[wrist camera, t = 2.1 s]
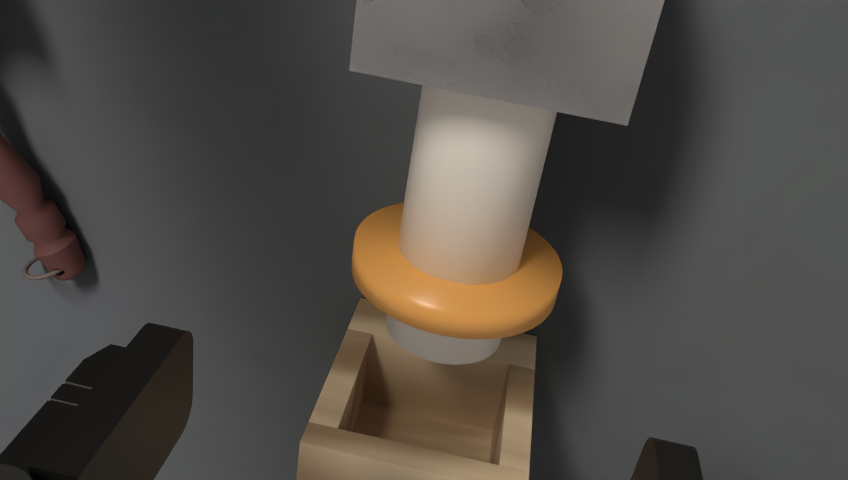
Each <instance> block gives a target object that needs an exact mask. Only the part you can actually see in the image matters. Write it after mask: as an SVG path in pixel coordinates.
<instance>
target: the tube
mask: <svg viewBox="0 0 848 480" xmlns="http://www.w3.org/2000/svg"><path fill="white" fill-rule="evenodd" d="M556 114H557V112H555V111H550V110H545V109H540V108H535V107H530V106H525V105H520V104H515V103H510V102H505V101H500V100H495V99H490V98H485V97H480V96H475V95H470V94H465V93H459V92H454V91H449V90H444V89H439V88H434V87H429V86H424V85H422V90H421V96H420V103H419V109H418V116H417V122H416V129H415V135H414V141H413V148H412V154H411V161H410V167H409V174H408V180H407V186H406V193H405V199H404V203H399V204H394V205H390V206H387V207H385V208H382V209H380V210H378V211H376V212H374V213H372V214H371V215H369V216H368V217H366V218H365V219H364V220H363V221H362V222H361V223H360V225H359V227H358V228H357V230H356V233H355V238H354V246H353V254H352V263H351V271H352V277H353V279H354V282H355V284H356V286H357V287H358V289H359V290H360V292H361V293H362V294H363V295H364V296H365V298H366V299H367V300H368V301H369V302H371V303H372V304H373V305H374V306H375V307H376V308H378V309H379V310H381V311H382V312H384V313H385V314H387V315H386V327H387V330H388V332H389V334H390V336H391V337H392V339H393V340H394V341H395V342H396V343H397V344H398V345H399V346H400V347H402V348H403V349H405V350H406V351H408V352H409V353H411V354H413V355H415V356H417V357H420V358H422V359H425V360H428V361H432V362H436V363H442V364H451V365H460V364H469V363H475V362H478V361H481V360H483V359H486V358H487V357H489V356H491V355H492V354H493V353H494V352H495V351H496V350H497V348H498V347H499V345H500V341H501V338H504V337H510V336H514V335H517V334H521V333H524V332H526V331H528V330H531V329H533V328H534V327H536V326H538V325H539V324H541V323H542V322H543V321H544V320H545V319H546V318H547V317H548V316H549V314H550V313H551V312H552V309H553V307H554V305H555V301H556V297H557V294H558V290H559V287H560V283H561V280H562V273H563V271H562V264H561V261H560V258H559V256H558V255H557V253H556V251H555V250H554V249H553V247H552V246H551V245H550V244H549V243H548V242H547V241H546V240H545V239H544V238H543V237H542V236H540V235H539V234H538V233H536V232H535V231H534V230H532V229H531V228H529V224H530V220H531V216H532V212H533V208H534V204H535V200H536V195H537V191H538V187H539V183H540V179H541V175H542V171H543V167H544V163H545V159H546V155H547V151H548V147H549V143H550V139H551V135H552V131H553V127H554V123H555V119H556Z"/></svg>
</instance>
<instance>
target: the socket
mask: <svg viewBox="0 0 848 480" xmlns="http://www.w3.org/2000/svg"><path fill="white" fill-rule="evenodd" d="M386 315H387V314H385V313H384V312H382V311H381V310H379V309H378V308H376V307H375V306H374V305H373V304H372V303H371V302H369V301H368V300H367V299H362V298H360V300H359V303H358V305H357V307H356V310H355V312H354V314H353V317H352V319H351V322H350V324H349V326H348V329H347V331H346V334H345V336H344V338H343V341H342V343H341V345H340V348H339V350H338V353H337V355H336V357H335V360H334V362H333V365H332V367H331V369H330V372H329V374H328V377H327V379H326V381H325V384H324V386H323V388H322V391H321V393H320V396H319V398H318V400H317V403H316V405H315V408H314V410H313V412H312V415H311V417H310V420H309V422H308V424H307V427H306V429H305V431H304V434H303V436H302V439H301V441H300V446H299V456H298V466H297V476H296V480H529V468H530V450H531V432H532V415H533V397H534V379H535V362H536V344H537V336H533V335H528V334H524V333H521V334H517V335H514V336H510V337H504V338H501V341H500V345H499V347H498V348H497V350H496V351H495V352H494V353H493V354H492V355H491V356H489V357H487V358H486V359H483V360H481V361H478V362H475V363H469V364H460V365H451V364H442V363H436V362H432V361H428V360H425V359H422V358H420V357H417V356H415V355H413V354H411V353H409V352H408V351H406V350H405V349H403V348H402V347H400V346H399V345H398V344H397V343H396V342H395V341H394V340H393V339H392V337H391V336H390V334H389V332H388V330H387V327H386Z"/></svg>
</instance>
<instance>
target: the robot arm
mask: <svg viewBox="0 0 848 480" xmlns="http://www.w3.org/2000/svg"><path fill="white" fill-rule="evenodd" d="M192 394H193V336H192V334H191V332H189V331H184V330H180V329H176V328H171V327H167V326H162V325H158V324H153V323H147V324H146V325H144V326H143V327H142V329H141V330H140V331H139V332H138V333H137V335H136V336H135V337H134V338H133V339H132V341H131V342H130V343H129V344H128V346H127V347H126V348H125V347H121V346H117V345H112V344H111V345H109V346H107V347H105V348H103V349H102V350H100V351H98V352H96V353H95V354H93V355H91V356H89V357H87V358H86V359H84V360H83V361H82V362H81V363H80V365H79V366H78V367H77V368H76V369H75V370H74V371H73V372H72V374H71V375H70V376H69V377H68V378H67V379H66V383H65V384H62V385H61V386H60V387H59V388H58V390H57V391H56V392H55V393H54V394H53V395H52V396H51V400H50V401H47V402H46V403H45V404H44V405H43V407H42V408H41V409H40V410H39V411H38V412H37V413H36V414H35V416H34V417H33V418H32V419H31V420H30V421H29V422H28V424H27V425H26V426H25V427H24V428H23V429H22V430H21V432H20V433H19V434H18V435H17V436H16V437H15V438H14V439H13V441H12V442H11V443H10V444H9V445H8V446H7V447H6V449H5V450H4V451H3V452H2V453H1V454H0V480H154V478H155V477H156V475H157V473H158V472H159V470H160V468H161V467H162V465H163V464H164V462H165V460H166V459H167V457H168V456H169V454H170V452H171V451H172V449H173V447H174V446H175V444H176V443H177V441H178V439H179V438H180V436H181V434H182V433H183V431H184V429H185V426H186V424H187V421H188V418H189V415H190V411H191V406H192ZM631 480H703V478H702V473H701V468H700V463H699V458H698V453H697V451H696V449H695V448H694V447H692V446H687V445H683V444H678V443H674V442H670V441H665V440H661V439H656V438H652V437H650V438H648V440H647V441H646V443H645V445H644V447H643V450H642V452H641V455H640V457H639V460H638V462H637V465H636V468H635V470H634V473H633V475H632V478H631Z"/></svg>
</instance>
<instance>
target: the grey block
mask: <svg viewBox="0 0 848 480" xmlns="http://www.w3.org/2000/svg"><path fill="white" fill-rule="evenodd" d="M664 1H665V0H357V2H356V11H355V21H354V30H353V39H352V48H351V58H350V67H349V71H354V72H359V73H364V74H369V75H374V76H379V77H384V78H389V79H394V80H399V81H404V82H409V83H414V84H419V85H424V86H429V87H434V88H439V89H444V90H449V91H454V92H459V93H465V94H470V95H475V96H480V97H485V98H490V99H495V100H500V101H505V102H510V103H515V104H520V105H525V106H530V107H535V108H540V109H545V110H550V111H555V112H560V113H565V114H570V115H575V116H580V117H585V118H590V119H595V120H600V121H605V122H611V123H616V124H621V125H626V126H628V123H629V119H630V116H631V112H632V109H633V106H634V102H635V99H636V96H637V92H638V89H639V85H640V82H641V79H642V75H643V72H644V68H645V65H646V62H647V58H648V55H649V52H650V48H651V45H652V41H653V38H654V35H655V31H656V28H657V25H658V21H659V18H660V14H661V11H662V8H663V4H664Z"/></svg>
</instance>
